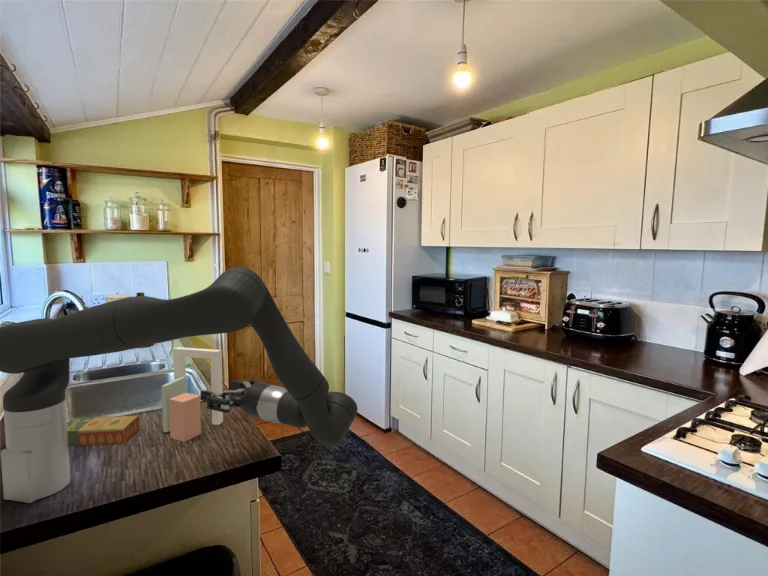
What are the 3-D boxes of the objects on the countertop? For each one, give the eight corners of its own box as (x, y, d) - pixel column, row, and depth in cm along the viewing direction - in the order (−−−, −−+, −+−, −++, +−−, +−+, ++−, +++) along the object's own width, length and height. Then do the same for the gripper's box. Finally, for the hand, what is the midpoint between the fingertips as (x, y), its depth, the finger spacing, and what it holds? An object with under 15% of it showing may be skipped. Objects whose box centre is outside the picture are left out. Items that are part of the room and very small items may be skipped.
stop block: (184, 442, 103) (183, 402, 102) (170, 437, 105) (168, 398, 104) (201, 433, 107) (200, 395, 106) (187, 429, 109) (186, 392, 108)
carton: (124, 445, 101) (124, 428, 101) (52, 448, 99) (51, 430, 99) (140, 430, 109) (139, 414, 109) (73, 432, 108) (72, 416, 107)
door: (163, 431, 107) (161, 385, 106) (183, 419, 115) (182, 376, 114) (167, 432, 107) (165, 386, 106) (187, 419, 114) (186, 376, 113)
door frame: (218, 424, 113) (217, 351, 111) (175, 420, 115) (173, 348, 113) (223, 421, 115) (221, 350, 113) (180, 417, 117) (178, 347, 115)
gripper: (291, 377, 98) (238, 366, 105) (247, 396, 85) (190, 382, 92) (290, 408, 99) (238, 395, 106) (247, 431, 86) (190, 415, 93)
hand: (216, 389), depth 99 cm, fingers open, 8 cm apart
